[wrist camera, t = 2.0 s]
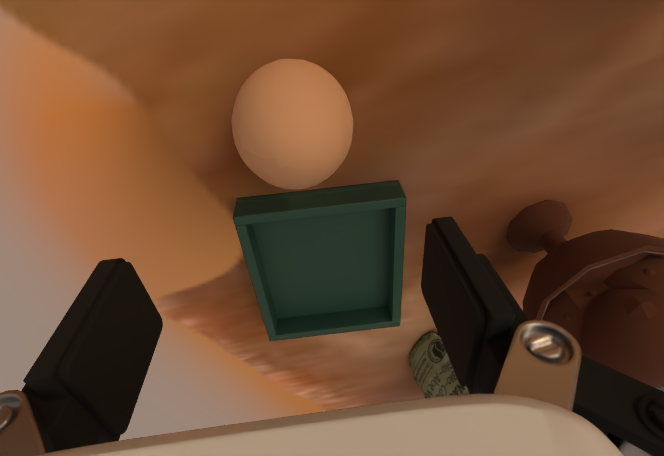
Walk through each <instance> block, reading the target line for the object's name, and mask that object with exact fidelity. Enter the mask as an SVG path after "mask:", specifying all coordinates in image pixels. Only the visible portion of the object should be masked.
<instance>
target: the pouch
mask: <svg viewBox="0 0 664 456" xmlns="http://www.w3.org/2000/svg"><path fill="white" fill-rule="evenodd" d="M410 365H411V366H412V368H413V372H414V378H415V381H416V382H417V383H418V384H419V386H420V387H421V389H422V390H423V392H424V396H425V398H434V397H443V396H451V395H466V394H469V391H468V389H467V387H466V386H463V387H462V386H461V385H460V384H459V382H458V379H457V377H456V374H455V372H454V370H453V367H452V365H451V362H450V360H449V357H448V355H447V352H446V350H445V347H444V345H443V343H442V340H441V338H440V336H438V335H437V334H435V333H434V332H431V333H429V334H427V335H424V336H423V337H422V340H420V341H418V343H417V344H416V345H415V348H414V350H413V351H412V353H411V356H410Z"/></svg>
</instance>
